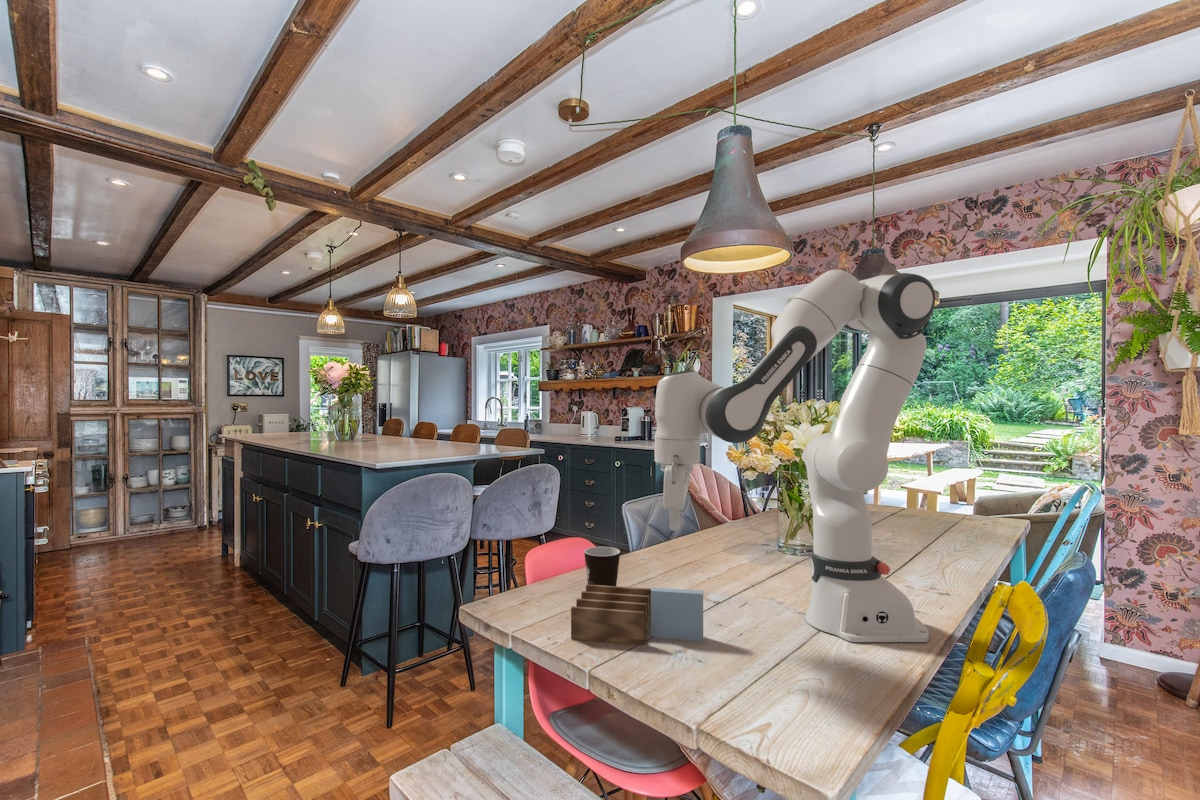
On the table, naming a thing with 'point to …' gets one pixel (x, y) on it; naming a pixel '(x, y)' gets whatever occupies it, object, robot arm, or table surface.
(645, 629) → the walnut rack
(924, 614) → the table surface
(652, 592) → the upright grey-blue slab
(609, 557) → the coffee mug
